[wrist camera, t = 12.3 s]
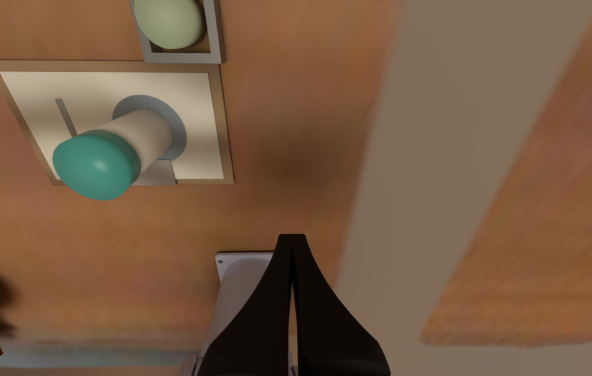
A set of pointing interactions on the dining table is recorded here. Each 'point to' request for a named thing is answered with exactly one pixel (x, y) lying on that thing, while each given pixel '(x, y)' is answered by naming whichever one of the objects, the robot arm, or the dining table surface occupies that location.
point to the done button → (171, 22)
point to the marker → (112, 154)
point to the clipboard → (125, 111)
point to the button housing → (216, 55)
